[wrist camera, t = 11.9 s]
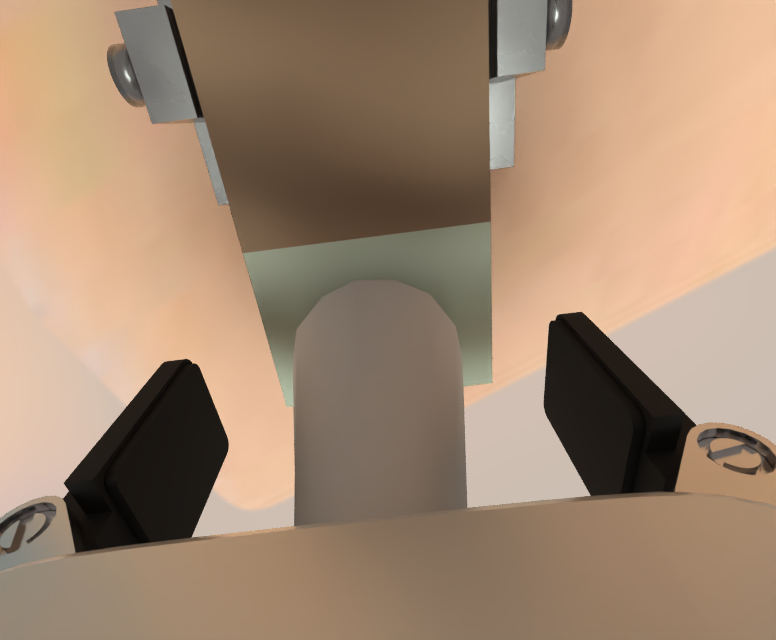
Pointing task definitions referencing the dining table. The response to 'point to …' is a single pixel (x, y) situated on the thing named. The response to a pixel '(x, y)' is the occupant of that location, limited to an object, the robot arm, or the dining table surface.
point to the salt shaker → (377, 406)
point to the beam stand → (181, 105)
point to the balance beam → (352, 152)
